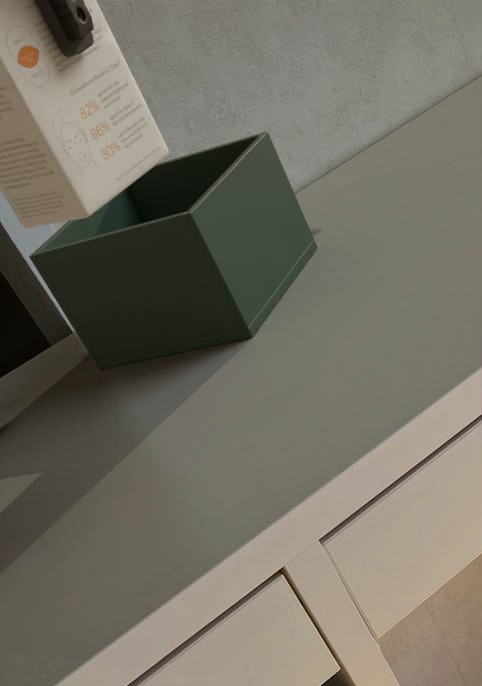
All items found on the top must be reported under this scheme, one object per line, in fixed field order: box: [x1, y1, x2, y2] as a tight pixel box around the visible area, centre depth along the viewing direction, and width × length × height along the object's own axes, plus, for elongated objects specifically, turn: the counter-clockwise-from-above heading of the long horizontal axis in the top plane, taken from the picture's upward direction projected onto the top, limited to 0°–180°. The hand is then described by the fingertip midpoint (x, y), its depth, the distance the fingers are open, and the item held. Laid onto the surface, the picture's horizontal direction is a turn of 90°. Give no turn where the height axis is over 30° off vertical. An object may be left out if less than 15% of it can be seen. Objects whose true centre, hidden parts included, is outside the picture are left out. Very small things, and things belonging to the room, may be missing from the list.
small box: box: [0, 0, 170, 229], centre depth 56 cm, size 8×6×10 cm
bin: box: [28, 131, 319, 370], centre depth 85 cm, size 15×15×10 cm
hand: (30, 66), depth 55 cm, fingers closed on small box, 6 cm apart
